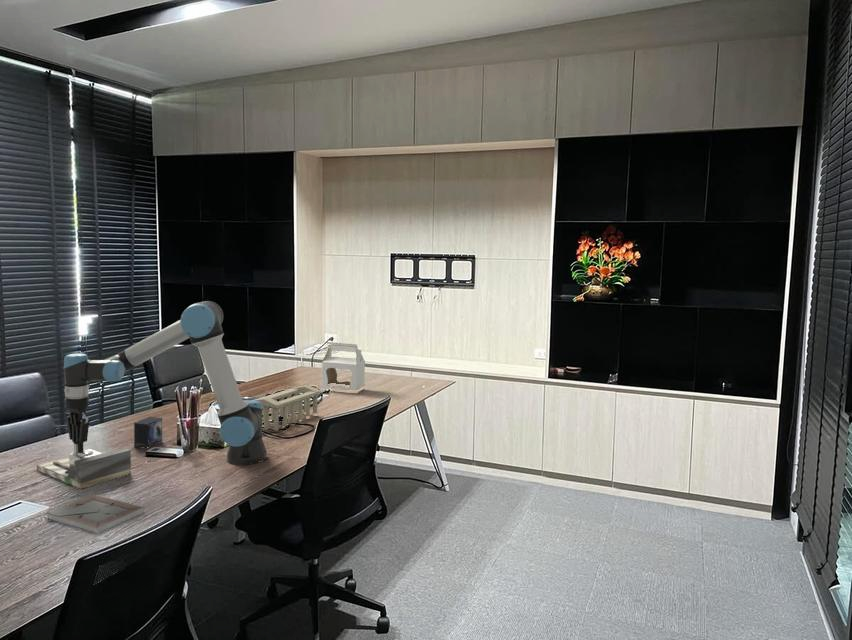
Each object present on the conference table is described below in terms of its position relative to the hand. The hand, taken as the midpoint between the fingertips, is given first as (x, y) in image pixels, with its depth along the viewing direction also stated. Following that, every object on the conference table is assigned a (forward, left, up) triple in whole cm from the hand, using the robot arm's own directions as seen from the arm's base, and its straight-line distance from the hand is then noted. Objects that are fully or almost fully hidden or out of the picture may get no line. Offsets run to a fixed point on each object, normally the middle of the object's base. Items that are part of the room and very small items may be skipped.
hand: (78, 459), depth 231 cm
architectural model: (-11, -93, -4) cm, 94 cm away
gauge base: (-3, 0, -4) cm, 5 cm away
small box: (+8, -33, -4) cm, 34 cm away
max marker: (-11, +8, -2) cm, 14 cm away
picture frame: (-42, +17, -5) cm, 46 cm away
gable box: (+13, -162, -4) cm, 163 cm away
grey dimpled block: (-5, +3, -2) cm, 6 cm away
